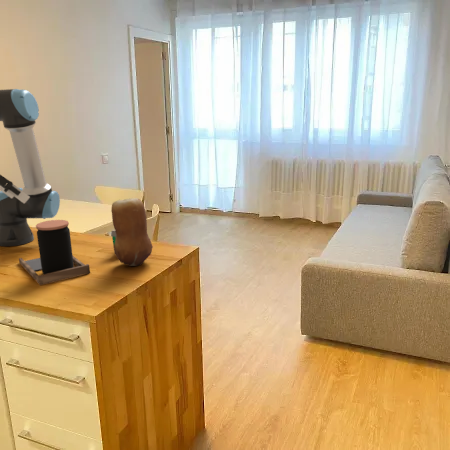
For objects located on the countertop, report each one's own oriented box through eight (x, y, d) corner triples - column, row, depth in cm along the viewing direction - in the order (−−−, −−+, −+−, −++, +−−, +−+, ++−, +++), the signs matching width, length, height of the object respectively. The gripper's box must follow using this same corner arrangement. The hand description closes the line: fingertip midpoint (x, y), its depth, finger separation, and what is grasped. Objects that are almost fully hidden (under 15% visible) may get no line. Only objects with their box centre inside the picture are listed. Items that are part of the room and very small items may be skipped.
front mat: (23, 262, 169) (23, 261, 169) (62, 254, 178) (61, 253, 177) (32, 272, 159) (32, 270, 159) (72, 262, 167) (72, 261, 167)
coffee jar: (80, 268, 162) (74, 220, 157) (61, 279, 152) (55, 228, 147) (55, 266, 165) (49, 218, 160) (35, 276, 155) (28, 226, 150)
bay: (19, 263, 169) (18, 255, 168) (64, 253, 179) (63, 246, 178) (40, 285, 147) (38, 276, 146) (90, 273, 157) (89, 265, 156)
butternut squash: (124, 258, 172) (119, 194, 165) (158, 259, 169) (153, 194, 163) (109, 270, 158) (102, 202, 152) (145, 272, 156) (140, 203, 149)
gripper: (-55, 161, 141) (2, 202, 154) (-39, 166, 123) (24, 212, 135) (-39, 143, 143) (16, 185, 156) (-21, 145, 125) (40, 192, 138)
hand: (20, 197), depth 146 cm, fingers open, 13 cm apart
